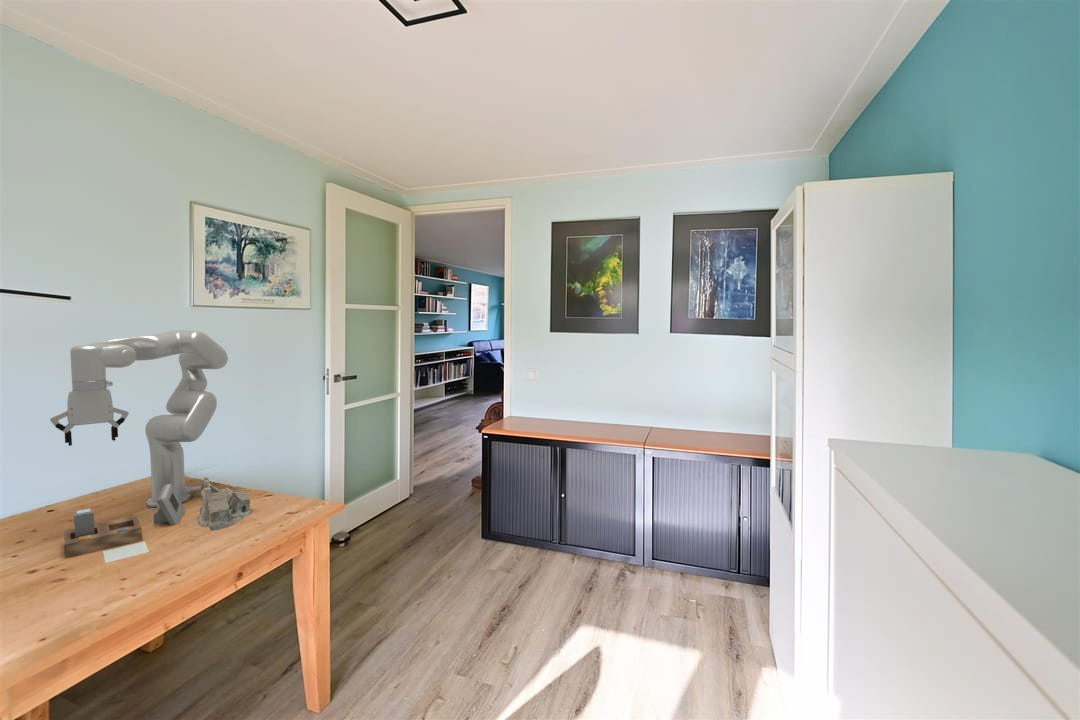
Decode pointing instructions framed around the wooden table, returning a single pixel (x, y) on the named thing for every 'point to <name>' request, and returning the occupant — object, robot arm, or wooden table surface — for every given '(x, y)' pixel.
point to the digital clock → (168, 507)
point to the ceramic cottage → (222, 506)
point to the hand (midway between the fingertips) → (92, 442)
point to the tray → (125, 552)
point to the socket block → (103, 537)
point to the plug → (84, 522)
